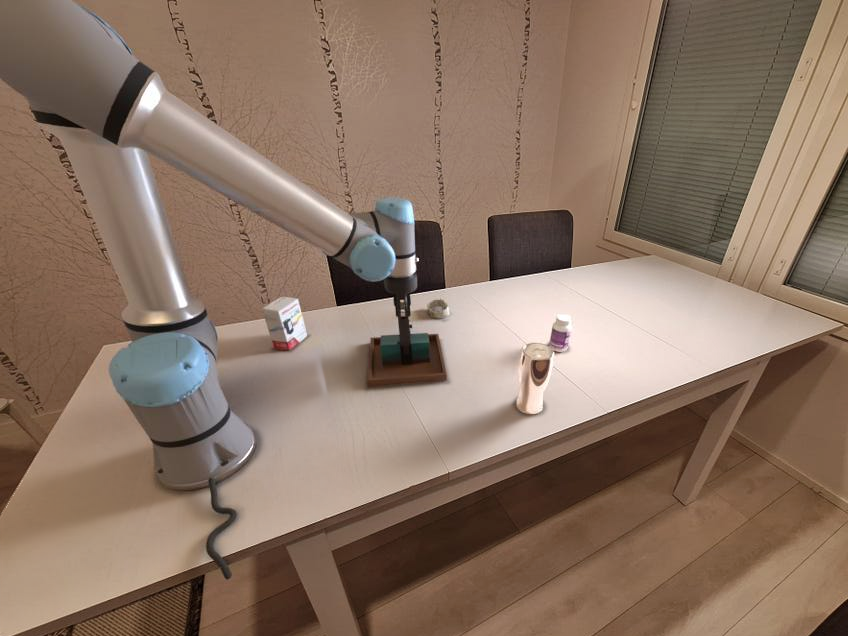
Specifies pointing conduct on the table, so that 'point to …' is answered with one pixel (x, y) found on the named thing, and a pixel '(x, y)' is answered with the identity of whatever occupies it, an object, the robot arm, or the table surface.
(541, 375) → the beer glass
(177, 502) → the table surface
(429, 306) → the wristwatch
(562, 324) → the pill bottle
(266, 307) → the ink box
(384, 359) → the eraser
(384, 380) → the tray
